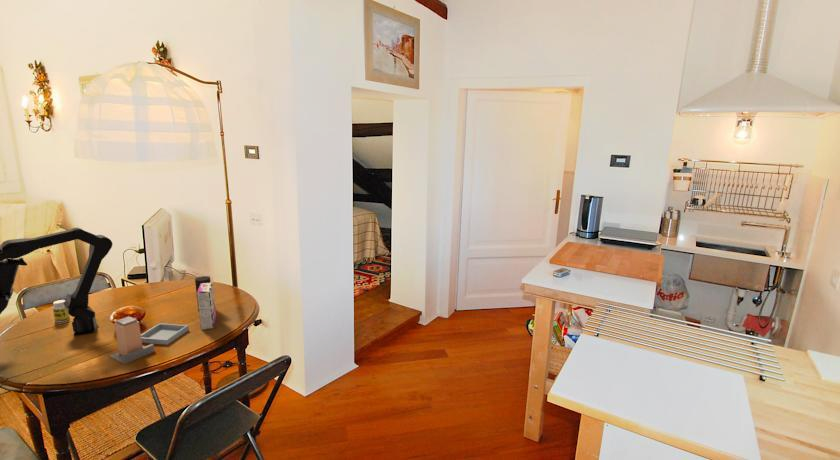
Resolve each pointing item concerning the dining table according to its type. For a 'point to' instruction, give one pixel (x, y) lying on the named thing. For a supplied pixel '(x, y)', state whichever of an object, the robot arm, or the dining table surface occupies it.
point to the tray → (163, 333)
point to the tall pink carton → (128, 335)
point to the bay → (133, 354)
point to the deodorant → (201, 280)
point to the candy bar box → (206, 305)
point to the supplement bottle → (60, 311)
